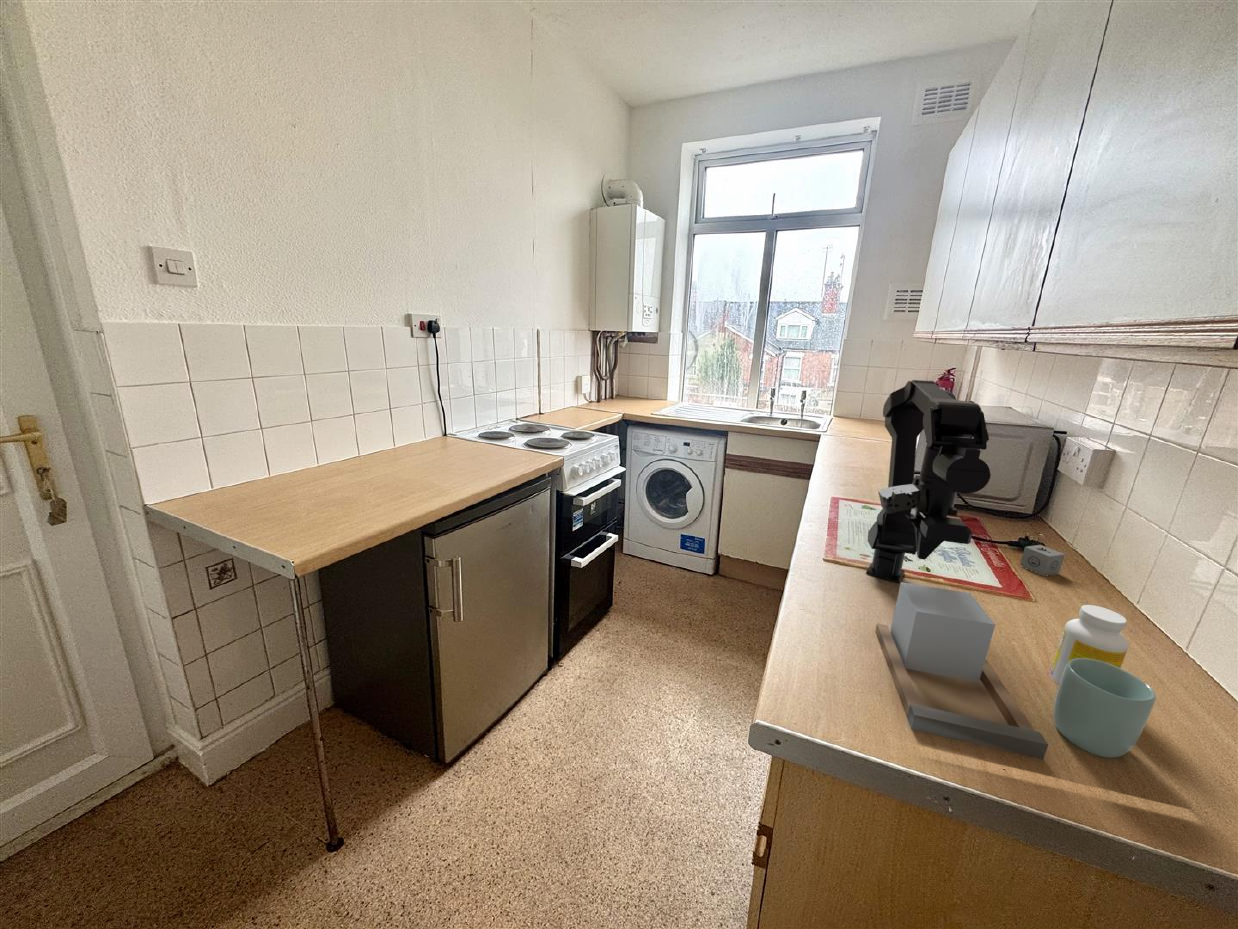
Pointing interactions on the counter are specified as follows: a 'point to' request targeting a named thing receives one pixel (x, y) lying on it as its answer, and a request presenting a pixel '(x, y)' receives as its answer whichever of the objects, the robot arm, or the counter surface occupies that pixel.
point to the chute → (961, 706)
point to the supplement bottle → (1091, 639)
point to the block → (941, 631)
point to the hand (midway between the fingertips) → (921, 558)
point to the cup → (1101, 707)
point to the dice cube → (1042, 560)
